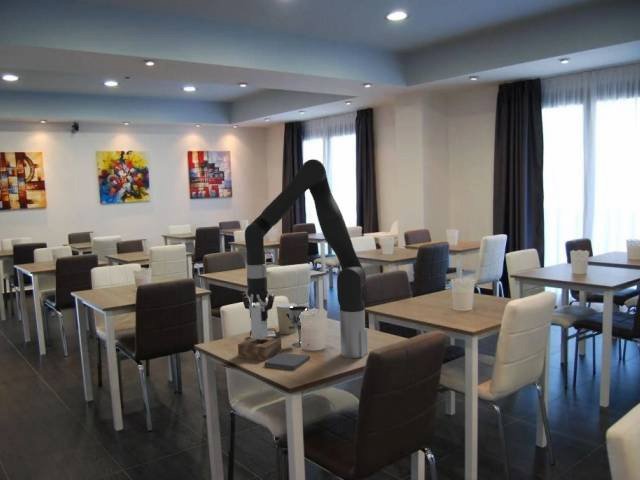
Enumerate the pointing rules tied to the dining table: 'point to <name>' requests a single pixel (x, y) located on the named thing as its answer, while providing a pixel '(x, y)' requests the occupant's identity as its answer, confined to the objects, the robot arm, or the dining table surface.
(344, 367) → the dining table surface
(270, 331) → the calculator
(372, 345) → the dining table surface
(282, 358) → the mat
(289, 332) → the coffee cup
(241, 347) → the socket block
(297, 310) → the wine glass
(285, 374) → the dining table surface
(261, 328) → the peg
